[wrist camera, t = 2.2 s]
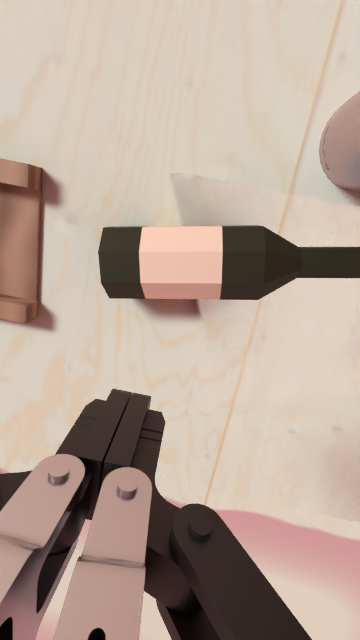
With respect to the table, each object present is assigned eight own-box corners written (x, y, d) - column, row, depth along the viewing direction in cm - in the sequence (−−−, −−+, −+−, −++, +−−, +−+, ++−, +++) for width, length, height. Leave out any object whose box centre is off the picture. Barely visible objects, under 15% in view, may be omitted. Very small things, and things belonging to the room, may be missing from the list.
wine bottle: (119, 302, 39) (364, 305, 37) (96, 292, 31) (412, 295, 28) (121, 238, 40) (363, 237, 37) (99, 211, 31) (409, 207, 29)
